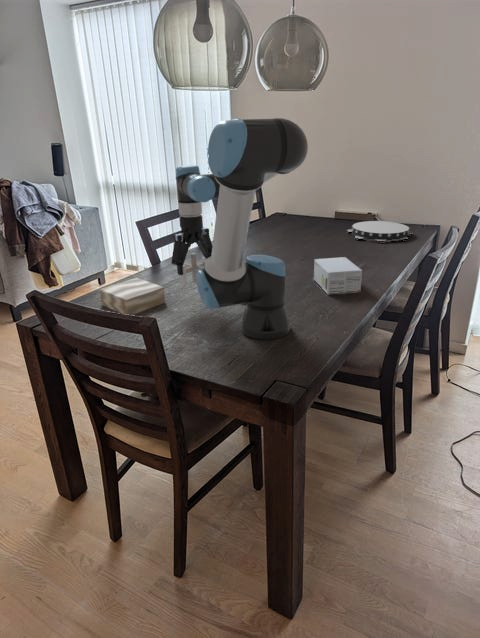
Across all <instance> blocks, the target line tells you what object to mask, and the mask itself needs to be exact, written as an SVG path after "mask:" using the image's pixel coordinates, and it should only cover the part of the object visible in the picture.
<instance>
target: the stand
mask: <svg viewBox="0 0 480 638" xmlns="http://www.w3.org/2000/svg"><path fill="white" fill-rule="evenodd" d="M99 293H100V301H101V305H102V306H103V307H106V308H108V309H110V310H113V311H115V312H116V313H120V314H121V315H124V314H129V315H131V316H133V315H136V314H138V313H141V312H144V311H146V310H149V309H152V308H155V307H158V306H160V305H163V304H165V303H166V297H165V287H164V286H162V285H159V284H155V283H153V282H150V281H147V280H144V279H142V278H139V277H135V278H131V279H128V280H125V281H121V282H119V283H115V284H112V285H109V286H105V287H102V288H100V289H99Z"/></svg>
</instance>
